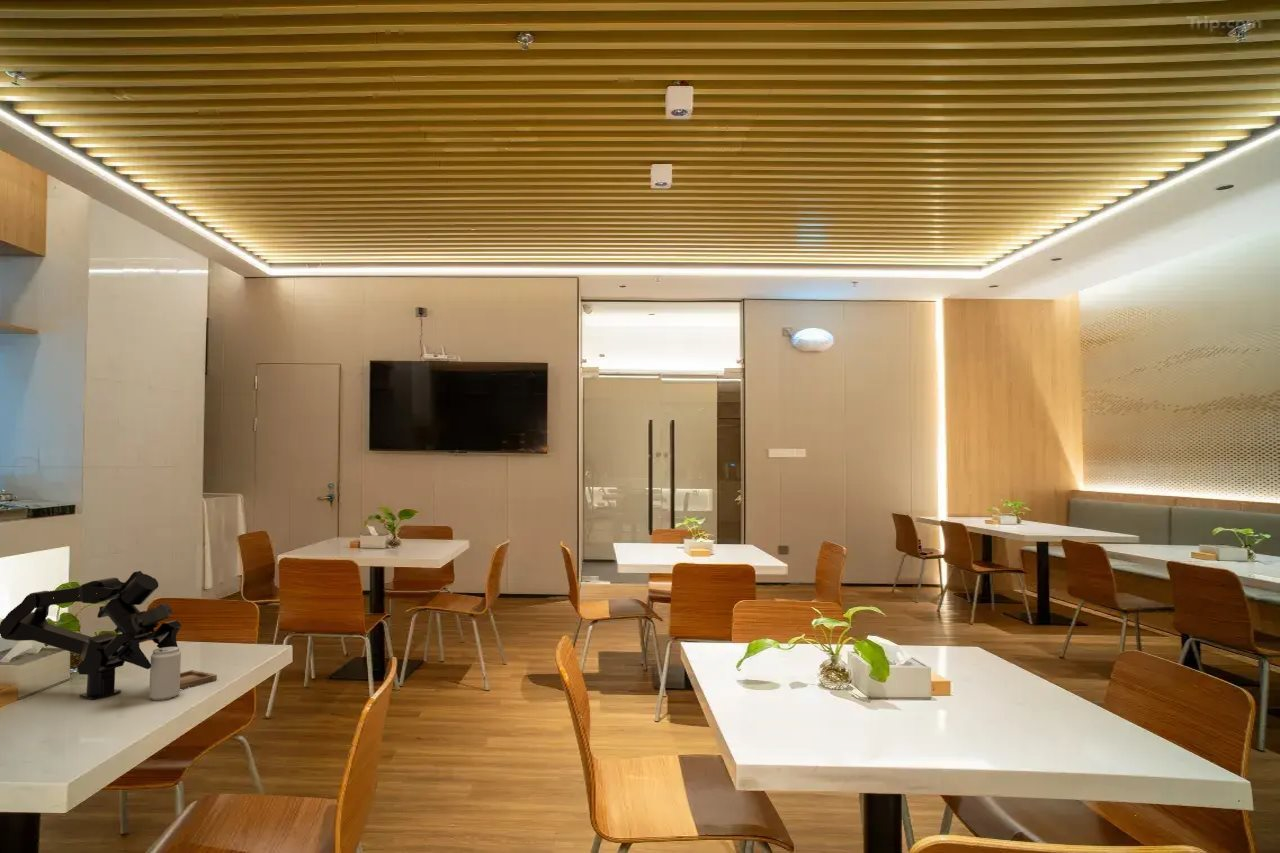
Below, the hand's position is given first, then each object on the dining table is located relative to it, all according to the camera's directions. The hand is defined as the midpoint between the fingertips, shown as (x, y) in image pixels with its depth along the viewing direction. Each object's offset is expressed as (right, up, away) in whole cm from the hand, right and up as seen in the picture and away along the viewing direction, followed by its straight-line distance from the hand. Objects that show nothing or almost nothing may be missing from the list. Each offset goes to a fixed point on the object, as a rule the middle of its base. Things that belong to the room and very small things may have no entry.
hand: (164, 662), depth 180 cm
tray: (-3, -9, +11) cm, 15 cm away
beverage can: (0, -9, -1) cm, 9 cm away
